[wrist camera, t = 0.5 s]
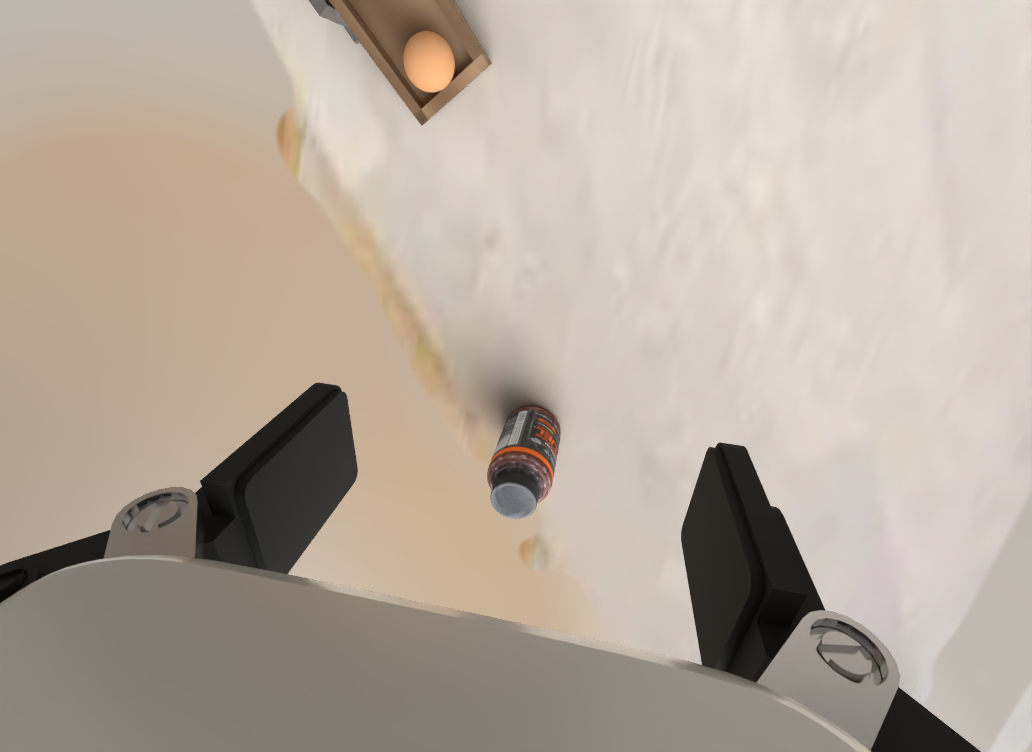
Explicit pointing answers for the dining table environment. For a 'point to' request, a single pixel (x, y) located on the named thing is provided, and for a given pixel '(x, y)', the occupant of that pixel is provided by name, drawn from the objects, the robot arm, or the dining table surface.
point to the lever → (388, 27)
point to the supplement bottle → (524, 462)
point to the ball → (429, 61)
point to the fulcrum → (331, 14)
